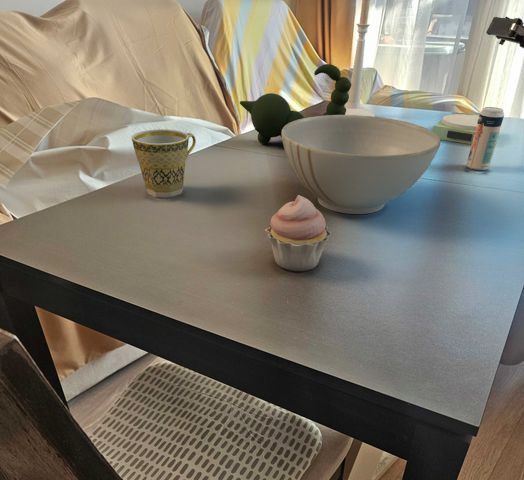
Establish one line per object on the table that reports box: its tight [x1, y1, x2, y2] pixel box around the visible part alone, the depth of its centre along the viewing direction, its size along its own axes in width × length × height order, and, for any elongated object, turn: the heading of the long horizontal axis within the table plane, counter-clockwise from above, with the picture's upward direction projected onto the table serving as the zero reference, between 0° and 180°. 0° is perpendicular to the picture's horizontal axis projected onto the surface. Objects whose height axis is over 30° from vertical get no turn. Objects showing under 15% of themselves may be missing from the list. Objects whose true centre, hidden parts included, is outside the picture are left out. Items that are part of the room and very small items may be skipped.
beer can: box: [466, 106, 505, 172], centre depth 108 cm, size 5×5×12 cm
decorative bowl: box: [281, 115, 441, 215], centre depth 90 cm, size 27×27×12 cm
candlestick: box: [344, 0, 375, 117], centre depth 139 cm, size 13×13×30 cm
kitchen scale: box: [431, 113, 479, 145], centre depth 132 cm, size 14×14×4 cm
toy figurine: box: [239, 63, 352, 145], centre depth 117 cm, size 9×19×25 cm
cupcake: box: [264, 194, 332, 272], centre depth 71 cm, size 9×9×10 cm
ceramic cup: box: [131, 128, 197, 199], centre depth 93 cm, size 13×10×10 cm
